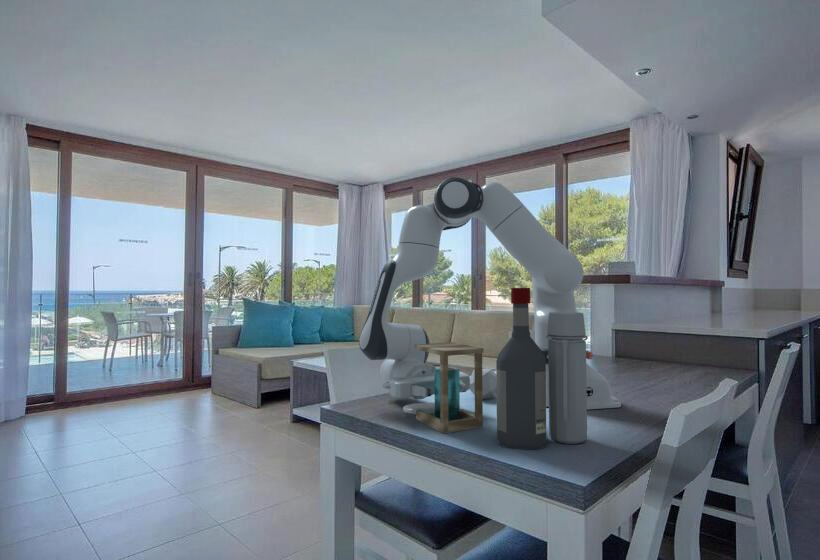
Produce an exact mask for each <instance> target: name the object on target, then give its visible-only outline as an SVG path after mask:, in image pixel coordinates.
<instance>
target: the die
mask: <svg viewBox="0 0 820 560" xmlns="http://www.w3.org/2000/svg"><path fill="white" fill-rule="evenodd" d="M470 376H471V377H470V388H469V391H470V392H471V393H472V394H473V395H474V396H475V368H474V369H473V370H472V373H471V375H470ZM482 391H483V400H493V399H495V400H496V399H497V377H496V373H495V371H494V370H493V369H492V368H482Z"/></svg>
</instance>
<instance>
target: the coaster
mask: <svg viewBox="0 0 820 560" xmlns="http://www.w3.org/2000/svg"><path fill="white" fill-rule="evenodd" d="M416 410H422V411H424V412H426V413H428V414H430V415H435V403H434V404H433V403H422V402H420V403H419V402H417V403H415V402H414V403H408V404H406V405H404V406H403V408H402V411H403V412H404V413H406V414H409V415H412V416H413V415H414V416H416Z"/></svg>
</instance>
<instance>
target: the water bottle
mask: <svg viewBox="0 0 820 560" xmlns="http://www.w3.org/2000/svg"><path fill="white" fill-rule="evenodd" d="M584 315H585V314H584V312H549V317H548V328H547V334H548V335H547V336H546V338H547V339H548V376H549V407H548V434H549V436H550V437H551V439H552V440H553V441H555V442H558V443H560V444H561V443H562V444H566V445H577V444H581V443H584V442H585V441H586V440H587V439H588V415H587V414H588V410H587V386H586V363H587V358H586V351H587V340H589V339H588V338H589V337H588V335H587V333H586V327H585V326H586V325H585V324H586V323H585V316H584ZM548 337H550V338H551V339H550V338H548Z"/></svg>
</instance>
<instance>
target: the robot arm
mask: <svg viewBox="0 0 820 560" xmlns="http://www.w3.org/2000/svg"><path fill="white" fill-rule="evenodd" d="M472 218H474V219H476V220H479V221H481V223H483V224H485V226H486V228H487V229H488V230H489V231H490V232H491V233H492V234H493V236H494V237H495V238H496V239H497V240H498V242H499V243H500V244H501V245H502V246H503V248H505V249H506V251H507V252H508V253H509V254H510V256H512V257H513V258H514V259H515V260H516V261H517V263H519V264H520V265H521V266H522V267H523V268H524V269H525V270H526V271H527V272H528V273H529V274H530V276H531V290H532V291H531V292H532V303H533V314H534V342H535V343H536V344H537V346H538V347H539V348H540V349H541V351H542V352H543V353H544V356H545V361H546V408H547V407H548V408H549V376H548V339H547V338H546V336H547V335H548V334H547V328H548V317H549V312H577V311H578V310H577V306H576V305H577V304H576V300H575V299H576V297H575V291H576V290H577V289H578V288H579V287H580V285H581V284H582V282H583V279H584V274H585V271H584V267H583V265H582V263H581V261H580V260H579V259H578V258H577V257H576V256H575V255H574V254H573V253H572V252H571V251H570V250H568V249H567V248H566V246H564V244H562V243H561V242H560V241H559V240H558V239H557V238H556V237H555V236H553V235H552V233H551V232H549V231H548V230H547V229H546V228H545V227H544V226H543V225H542V223H540V222H539V220H538V219H537V218H536V217H535V215H533V214H532V212H531V211H530V209H528V207H527V206H525V205H524V203H523V202H522V201H521V200H520V199H519V198H518V197H517V196H516V195H515V194H514V193H513V192H511V190H509V188H507V187H506V186H505V185H503V184H502V183H500V182H497V181H491V182H488V183H486V184H483V185H482V186H481V185H480V184H477V183H474V182H472V181H468V180H466V179H464V178H461V177H457V176H452V177H449V178H445V179H444V180H443V181H442V182H441V183H439V184H438V186H437V188H436V190H435V192H434V197H433V202H432V203H430V204H427V205H424V204H418V205H414V206H412V207H409V209H407V211H406V212H405V216H404V219H403V222H402V224H401V225H402V226H401V230H400V234H399V240H398V246H397V249H396V252H395V255H394V256H393V258H392V259H391V260H389V261H387V262H386V263H385V264H384V265H383V267H382V270H381V273H380V275H379V278H378V280H377V281H378V282H377V283H376V288H375V291H374V294H373V298H372V301H371V305H370V307H369V311H368V314H367V317H366V319H365V322H364V324H363V326H362V329H361V331H360V335H359V340H358V341H359V342H358V343H359V344H358V346H359V350H360V351H361V352H362V354H363V355H364V356H366V358H368V359H369V360H370V361H379V360H380V361H382V360H383V361H382V363H381V365H380V367H379V368H380V369H379V371H380V372H379V373H380V374H379V375H380V376H381V377H380V378H382V381H383V382H384V383H382V388H383V389H387V390H388V393H389V395H391V397H393V398H395V399H408V398H412V399H415V400H424V399H425V398H427V397H429V398H430V397H432V396H433V395H435V386H434V368H435V367H437V366H440V364H431V363H430V364H429V363H426V362H427V361H428V358H429V352H425V351H421V350H416V349H415V346H414V345H418V344H431V343H430V339H429V336H428V334H427V332H426V331H425V329H424V328H423V327H422V326H421V325H420V324H410V323H396V322H388V321H387V318H388V315H389V311H390V308H391V304H392V302H393V298H394V294H395V292H396V290H398V288H399V287H400V286H402V285H404V284H405V283H410V282H413V281H416V280H420V279H423V278H425V277H427V276H428V275H430V274H431V273H432V272H433V271H434V270H435V269H436V266H437V264H438V260H439V252H440V244H441V236H442V234H443V231H448V230H453V229H458V228H461V227H464V226H465V225H466V224H468V223H469V222H470V220H471V219H472ZM548 338H550V337H548ZM550 339H551V338H550ZM593 358H594V353H593V351H589V350H586V360H593ZM470 378H471V377H470V375H469V374H467V373H466V372H464V371H460V393H467V391H470V389H469V388H470ZM586 386H587V411H588V410H597V409H614V408H621V406H622V404H621V400H620V399H618V398H617V397H615V396H613V395H612V390H611V387H610V383H609V381H608V380H607V378H606V377H605V376H604V375H602V374H601V373H599V372H598V371H597V370H596V369H595V368H593V367H592V366H591V365H590V364H588V363H587V362H586Z"/></svg>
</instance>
